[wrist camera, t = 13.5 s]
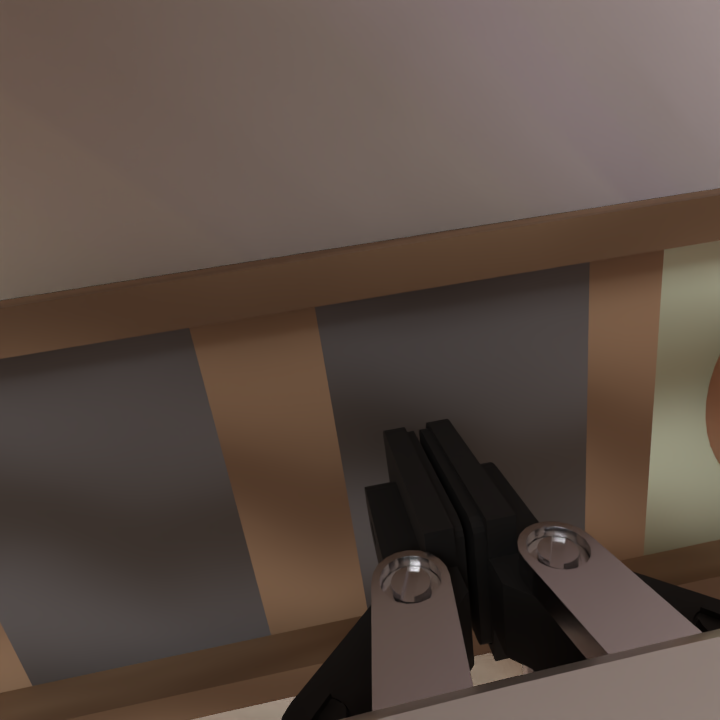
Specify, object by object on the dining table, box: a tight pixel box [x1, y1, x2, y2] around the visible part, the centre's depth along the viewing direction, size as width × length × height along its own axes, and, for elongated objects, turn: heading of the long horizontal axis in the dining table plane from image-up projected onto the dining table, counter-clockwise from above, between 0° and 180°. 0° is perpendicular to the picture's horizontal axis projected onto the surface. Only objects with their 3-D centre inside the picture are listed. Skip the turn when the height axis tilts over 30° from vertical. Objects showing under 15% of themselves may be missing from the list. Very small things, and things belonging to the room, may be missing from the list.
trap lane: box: [0, 188, 720, 720], centre depth 13 cm, size 12×44×2 cm, turn 98°
